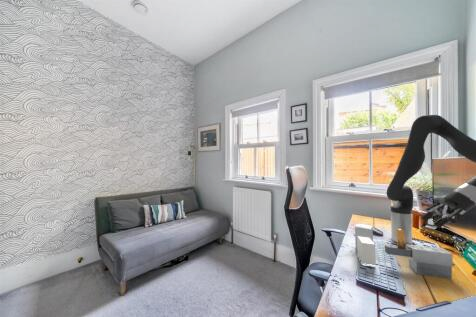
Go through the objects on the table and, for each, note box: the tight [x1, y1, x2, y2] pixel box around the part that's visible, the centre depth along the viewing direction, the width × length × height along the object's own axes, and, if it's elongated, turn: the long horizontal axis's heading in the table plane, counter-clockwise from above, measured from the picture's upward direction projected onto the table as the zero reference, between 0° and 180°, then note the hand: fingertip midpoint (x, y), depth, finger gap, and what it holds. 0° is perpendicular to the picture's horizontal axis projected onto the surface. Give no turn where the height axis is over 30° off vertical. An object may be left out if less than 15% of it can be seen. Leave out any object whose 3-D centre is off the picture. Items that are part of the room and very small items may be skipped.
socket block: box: [357, 236, 377, 266], centre depth 85 cm, size 8×5×10 cm, turn 160°
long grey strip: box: [384, 229, 412, 258], centre depth 79 cm, size 3×20×11 cm, turn 70°
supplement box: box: [354, 223, 374, 251], centre depth 98 cm, size 7×7×13 cm
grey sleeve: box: [405, 244, 454, 280], centre depth 77 cm, size 6×13×10 cm, turn 70°
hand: (429, 222), depth 77 cm, fingers open, 8 cm apart
